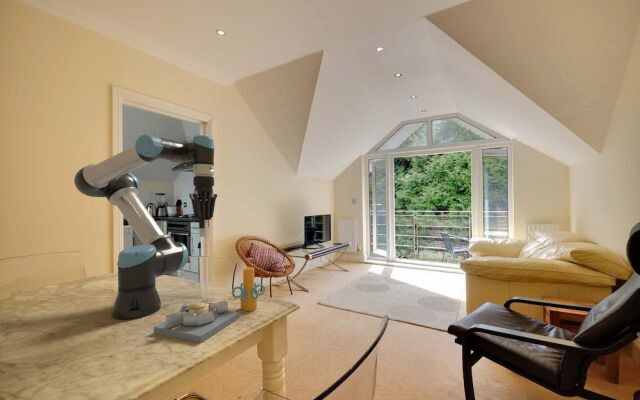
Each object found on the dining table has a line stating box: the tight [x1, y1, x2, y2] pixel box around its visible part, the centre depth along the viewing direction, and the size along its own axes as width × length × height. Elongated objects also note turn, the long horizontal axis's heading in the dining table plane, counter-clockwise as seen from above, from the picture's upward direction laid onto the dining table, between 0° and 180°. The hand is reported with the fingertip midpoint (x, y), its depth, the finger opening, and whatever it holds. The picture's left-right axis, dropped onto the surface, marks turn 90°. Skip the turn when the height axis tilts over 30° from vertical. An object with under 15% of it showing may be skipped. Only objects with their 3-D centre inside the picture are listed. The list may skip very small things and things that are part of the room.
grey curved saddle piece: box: [165, 299, 229, 328], centre depth 94 cm, size 19×11×4 cm, turn 134°
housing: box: [153, 302, 240, 344], centre depth 94 cm, size 18×18×7 cm
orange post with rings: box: [231, 266, 266, 312], centre depth 108 cm, size 12×10×15 cm
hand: (204, 236), depth 113 cm, fingers closed
